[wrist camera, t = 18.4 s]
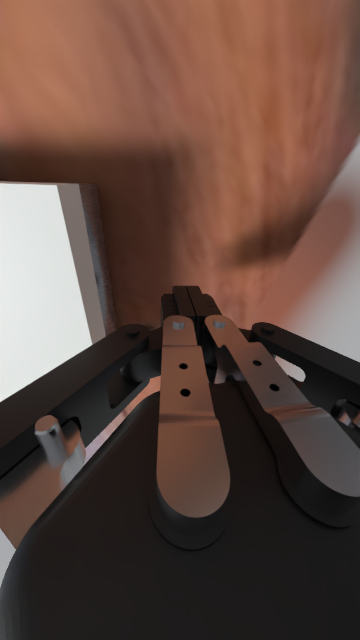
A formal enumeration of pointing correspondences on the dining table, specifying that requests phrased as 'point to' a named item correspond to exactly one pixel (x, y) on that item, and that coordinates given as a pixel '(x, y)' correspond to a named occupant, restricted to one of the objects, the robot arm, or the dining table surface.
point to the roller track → (97, 252)
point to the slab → (44, 282)
